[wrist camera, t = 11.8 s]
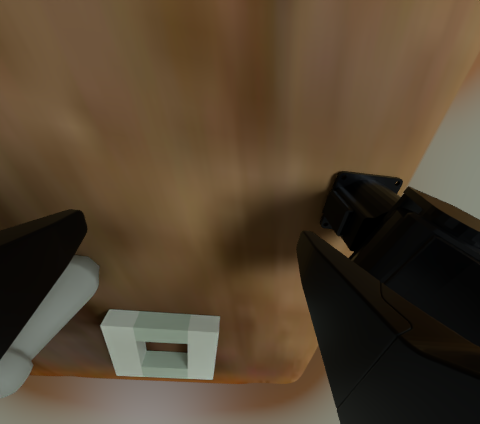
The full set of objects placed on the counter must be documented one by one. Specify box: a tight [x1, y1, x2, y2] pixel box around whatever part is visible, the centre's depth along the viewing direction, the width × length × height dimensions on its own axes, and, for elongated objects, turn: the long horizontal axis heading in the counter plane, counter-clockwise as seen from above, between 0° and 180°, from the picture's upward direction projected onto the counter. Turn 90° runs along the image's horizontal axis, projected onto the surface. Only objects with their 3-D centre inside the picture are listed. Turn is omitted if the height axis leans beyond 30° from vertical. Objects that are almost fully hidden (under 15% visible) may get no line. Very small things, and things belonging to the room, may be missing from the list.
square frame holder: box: [100, 309, 220, 380], centre depth 35 cm, size 16×14×2 cm
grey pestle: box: [0, 255, 100, 398], centre depth 22 cm, size 6×6×13 cm
